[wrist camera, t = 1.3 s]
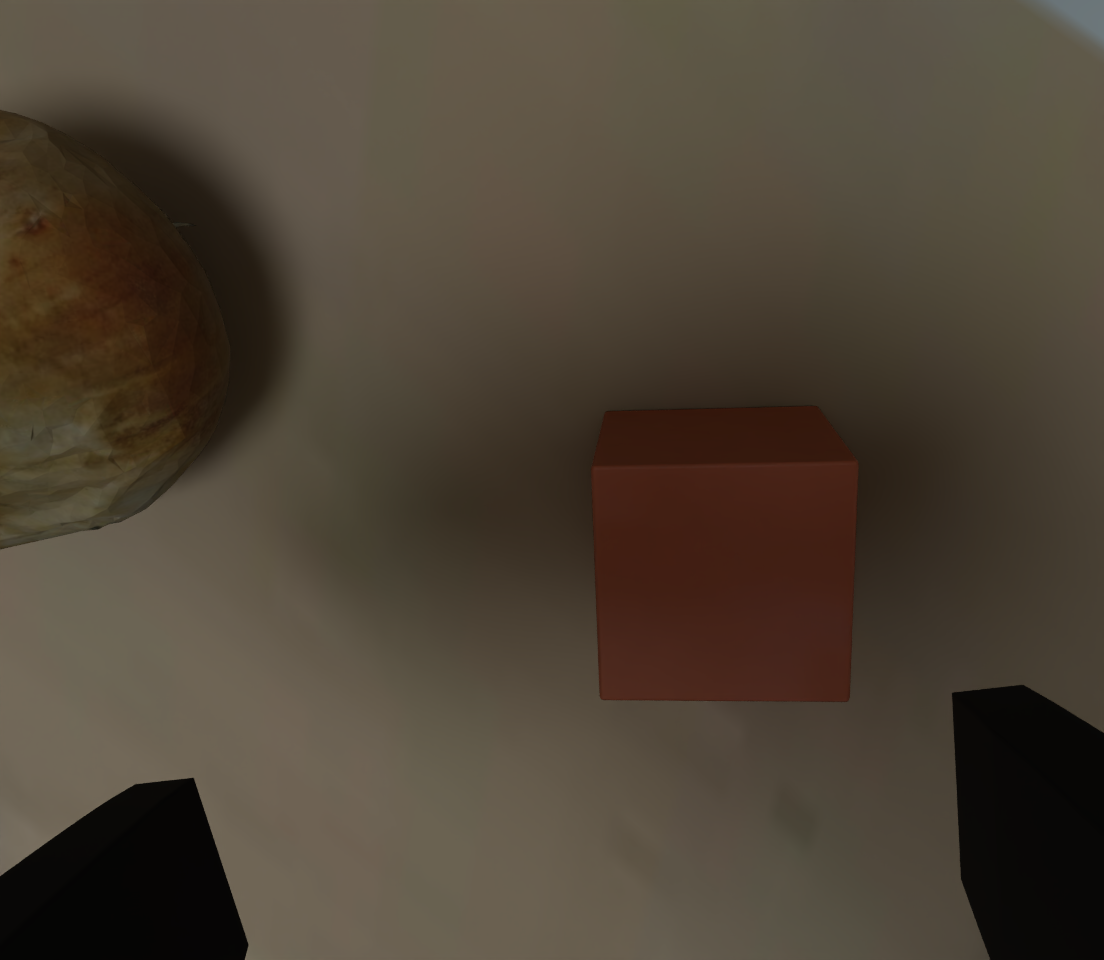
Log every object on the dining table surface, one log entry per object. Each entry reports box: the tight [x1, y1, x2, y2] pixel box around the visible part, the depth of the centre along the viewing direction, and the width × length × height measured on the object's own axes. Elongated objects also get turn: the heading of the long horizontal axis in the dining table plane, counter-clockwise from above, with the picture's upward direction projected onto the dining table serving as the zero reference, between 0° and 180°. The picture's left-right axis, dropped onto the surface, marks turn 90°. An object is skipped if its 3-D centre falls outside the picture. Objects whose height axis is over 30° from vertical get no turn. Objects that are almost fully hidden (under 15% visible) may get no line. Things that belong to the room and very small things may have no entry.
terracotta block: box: [591, 406, 859, 702], centre depth 17 cm, size 4×4×4 cm
